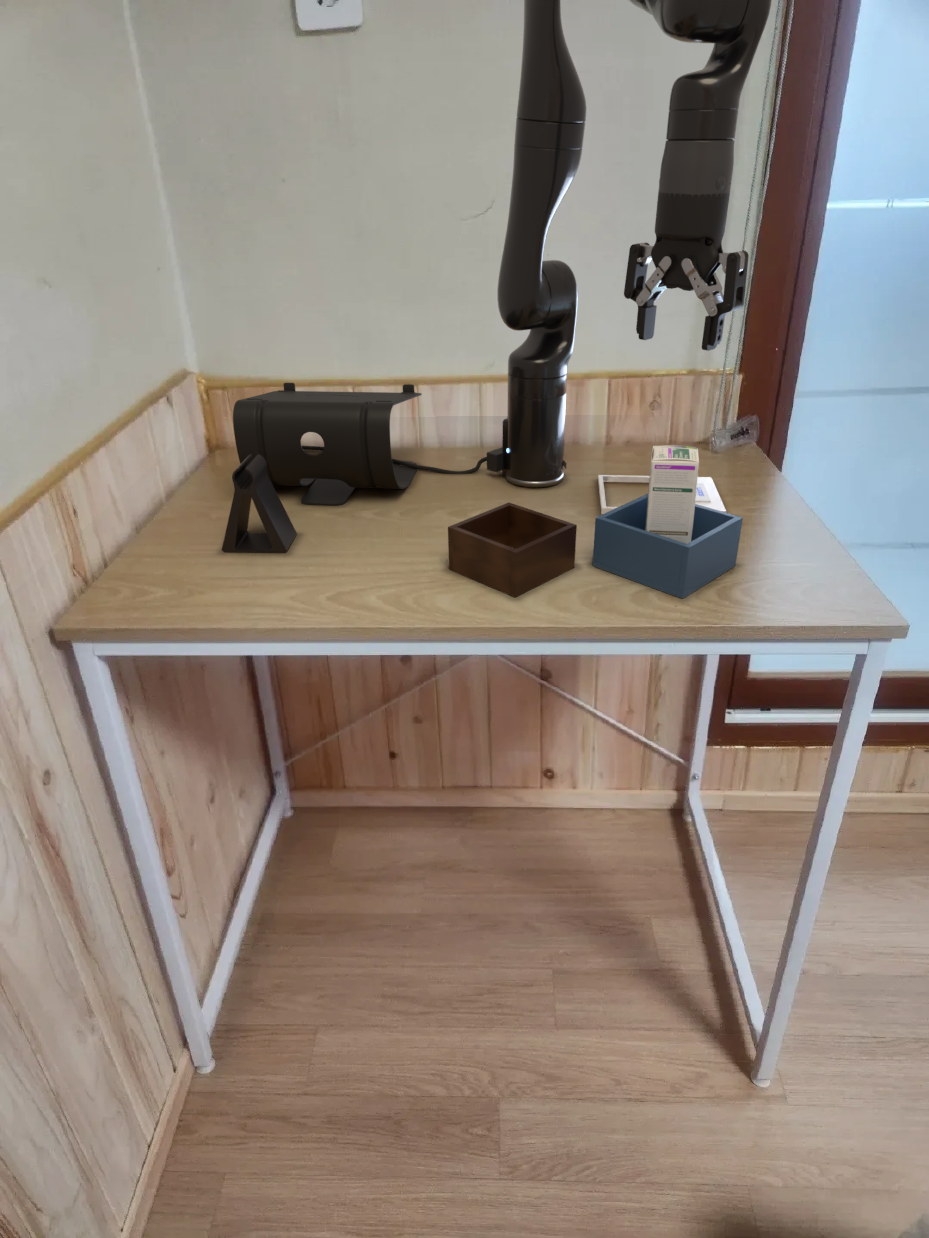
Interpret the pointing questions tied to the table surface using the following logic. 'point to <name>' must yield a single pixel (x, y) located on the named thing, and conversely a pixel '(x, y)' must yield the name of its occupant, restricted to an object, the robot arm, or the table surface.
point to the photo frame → (704, 491)
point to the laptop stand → (346, 428)
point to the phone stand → (269, 507)
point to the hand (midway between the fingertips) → (676, 344)
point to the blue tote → (666, 548)
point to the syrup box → (672, 491)
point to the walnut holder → (512, 571)
